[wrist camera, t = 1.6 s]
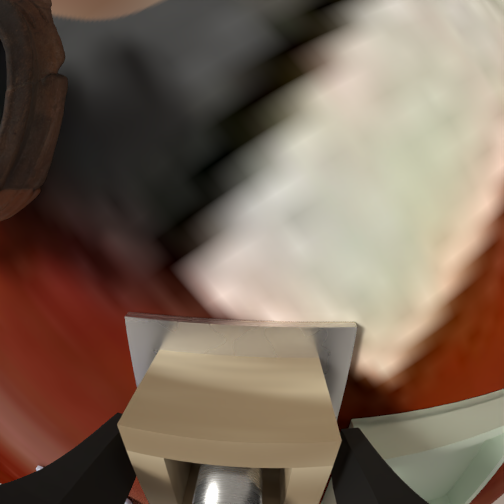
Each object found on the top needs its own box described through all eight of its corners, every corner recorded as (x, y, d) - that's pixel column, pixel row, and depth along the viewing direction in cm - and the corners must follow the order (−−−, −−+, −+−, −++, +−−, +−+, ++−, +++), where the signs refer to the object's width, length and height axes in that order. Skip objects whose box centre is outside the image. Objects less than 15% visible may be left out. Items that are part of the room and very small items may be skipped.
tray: (447, 491, 13) (458, 514, 11) (313, 519, 14) (316, 549, 11) (513, 385, 11) (536, 410, 8) (351, 419, 11) (364, 462, 9)
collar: (300, 456, 11) (307, 527, 7) (176, 448, 12) (155, 516, 8) (318, 357, 10) (341, 440, 6) (159, 349, 10) (117, 424, 6)
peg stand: (321, 463, 12) (335, 553, 7) (157, 453, 12) (128, 538, 7) (354, 321, 10) (414, 429, 5) (129, 311, 10) (47, 402, 5)
